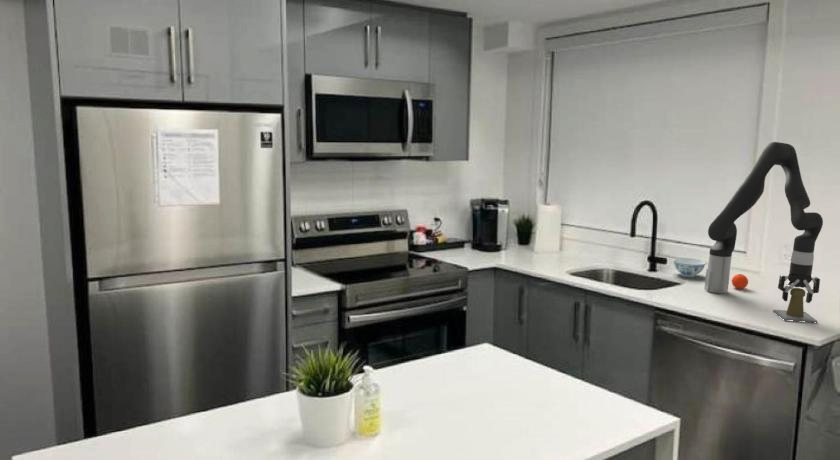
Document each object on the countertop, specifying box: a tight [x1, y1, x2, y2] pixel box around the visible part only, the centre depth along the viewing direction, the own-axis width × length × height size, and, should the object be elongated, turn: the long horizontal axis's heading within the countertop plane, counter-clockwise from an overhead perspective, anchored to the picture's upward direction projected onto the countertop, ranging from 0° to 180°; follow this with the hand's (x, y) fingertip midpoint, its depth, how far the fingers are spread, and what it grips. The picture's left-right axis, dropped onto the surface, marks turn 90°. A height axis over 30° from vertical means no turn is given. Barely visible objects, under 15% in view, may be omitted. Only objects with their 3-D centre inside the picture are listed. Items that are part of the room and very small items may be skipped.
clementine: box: [731, 273, 749, 290], centre depth 286 cm, size 8×7×7 cm
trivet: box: [772, 309, 818, 324], centre depth 244 cm, size 12×12×1 cm
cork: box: [786, 287, 806, 317], centre depth 243 cm, size 6×6×11 cm
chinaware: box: [672, 257, 707, 278], centre depth 308 cm, size 15×15×8 cm
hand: (796, 301), depth 243 cm, fingers open, 8 cm apart
